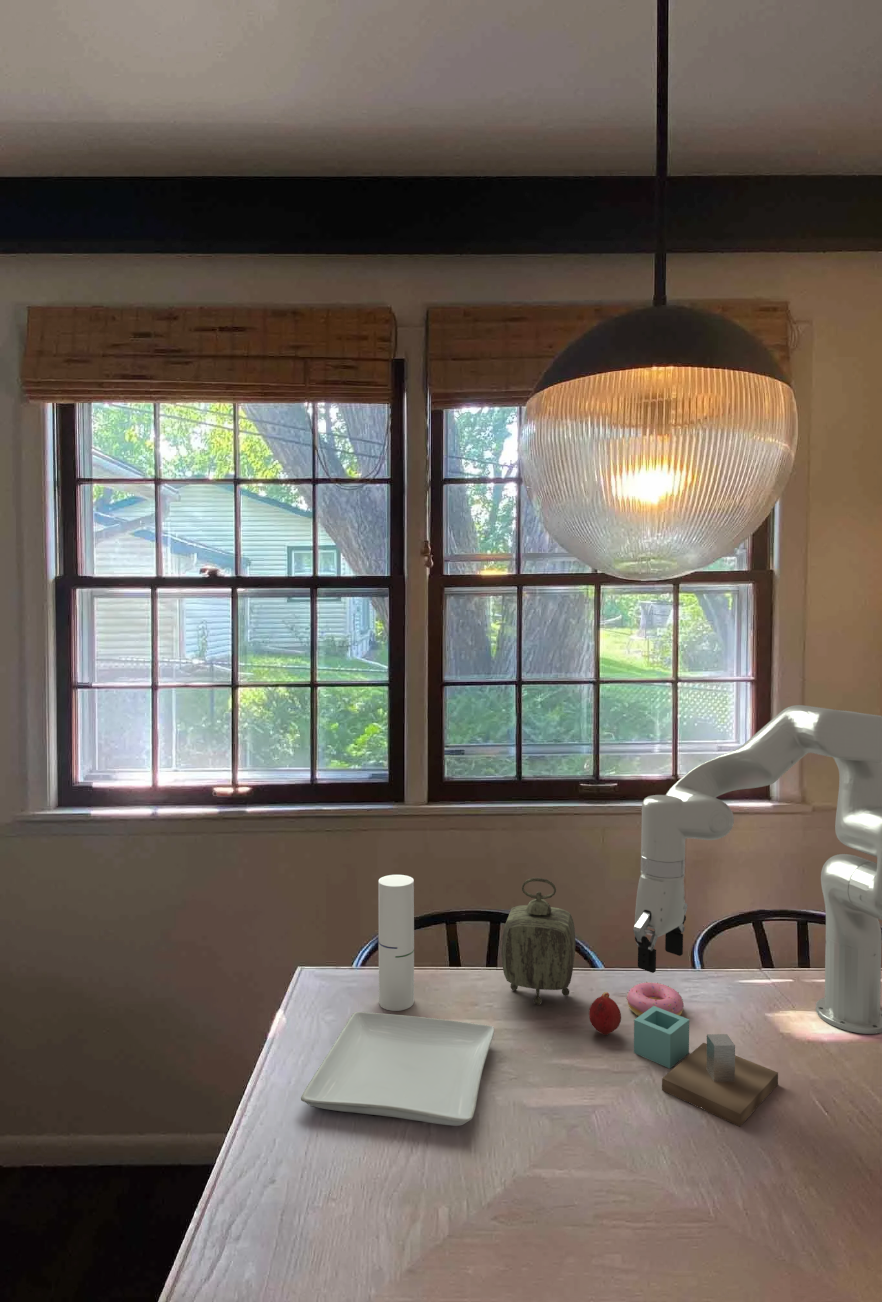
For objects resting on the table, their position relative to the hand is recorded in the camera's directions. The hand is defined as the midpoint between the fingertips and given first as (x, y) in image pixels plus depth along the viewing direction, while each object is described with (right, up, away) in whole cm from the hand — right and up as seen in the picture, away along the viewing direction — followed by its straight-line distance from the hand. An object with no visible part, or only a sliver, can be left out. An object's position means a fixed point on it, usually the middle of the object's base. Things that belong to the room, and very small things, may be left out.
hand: (660, 961), depth 135 cm
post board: (+7, -17, -10) cm, 21 cm away
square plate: (-45, -18, -6) cm, 49 cm away
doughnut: (+3, -17, +16) cm, 23 cm away
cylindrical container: (-48, -16, +19) cm, 54 cm away
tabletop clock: (-19, -16, +20) cm, 32 cm away
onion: (-9, -17, +7) cm, 20 cm away
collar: (0, -17, +1) cm, 17 cm away
